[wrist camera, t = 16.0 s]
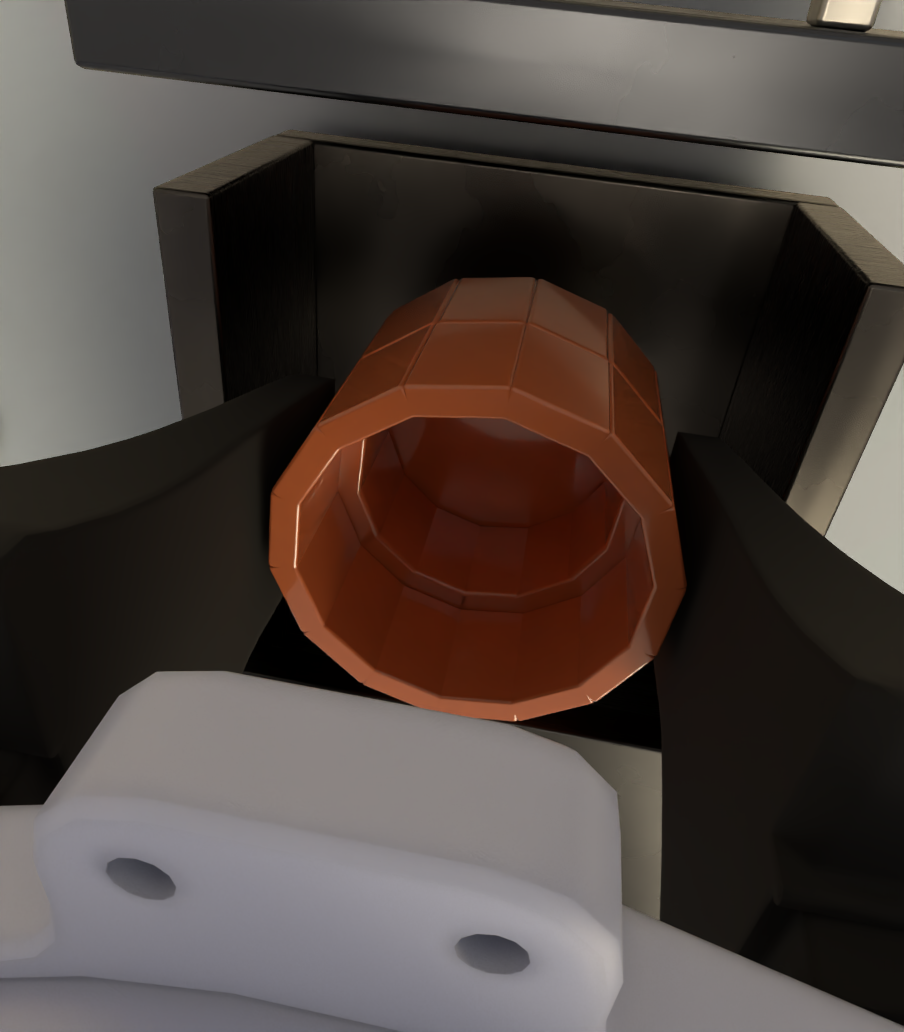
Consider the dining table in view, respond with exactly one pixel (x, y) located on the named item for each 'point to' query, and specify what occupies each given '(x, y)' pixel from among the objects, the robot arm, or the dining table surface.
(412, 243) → the drawer
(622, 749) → the cabinet
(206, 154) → the dining table surface
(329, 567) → the orange cup
